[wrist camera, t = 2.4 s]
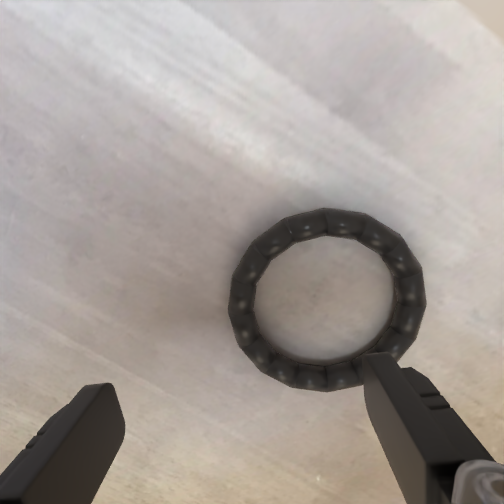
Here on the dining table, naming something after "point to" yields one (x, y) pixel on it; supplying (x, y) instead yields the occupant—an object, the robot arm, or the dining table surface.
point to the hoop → (312, 227)
